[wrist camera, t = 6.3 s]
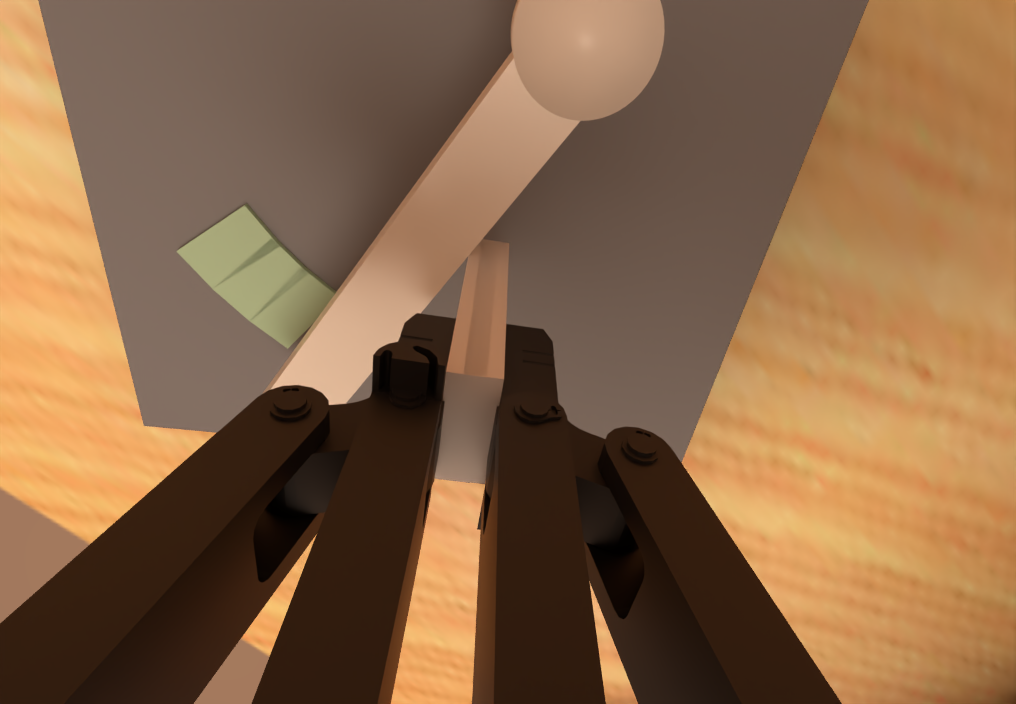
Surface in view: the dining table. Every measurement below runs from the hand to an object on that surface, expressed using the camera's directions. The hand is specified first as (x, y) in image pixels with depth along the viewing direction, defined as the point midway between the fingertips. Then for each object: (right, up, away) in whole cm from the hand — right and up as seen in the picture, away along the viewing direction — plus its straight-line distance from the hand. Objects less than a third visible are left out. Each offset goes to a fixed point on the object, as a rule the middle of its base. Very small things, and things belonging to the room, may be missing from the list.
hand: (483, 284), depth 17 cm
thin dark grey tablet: (-2, +2, +4) cm, 5 cm away
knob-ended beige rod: (-2, +1, 0) cm, 2 cm away
